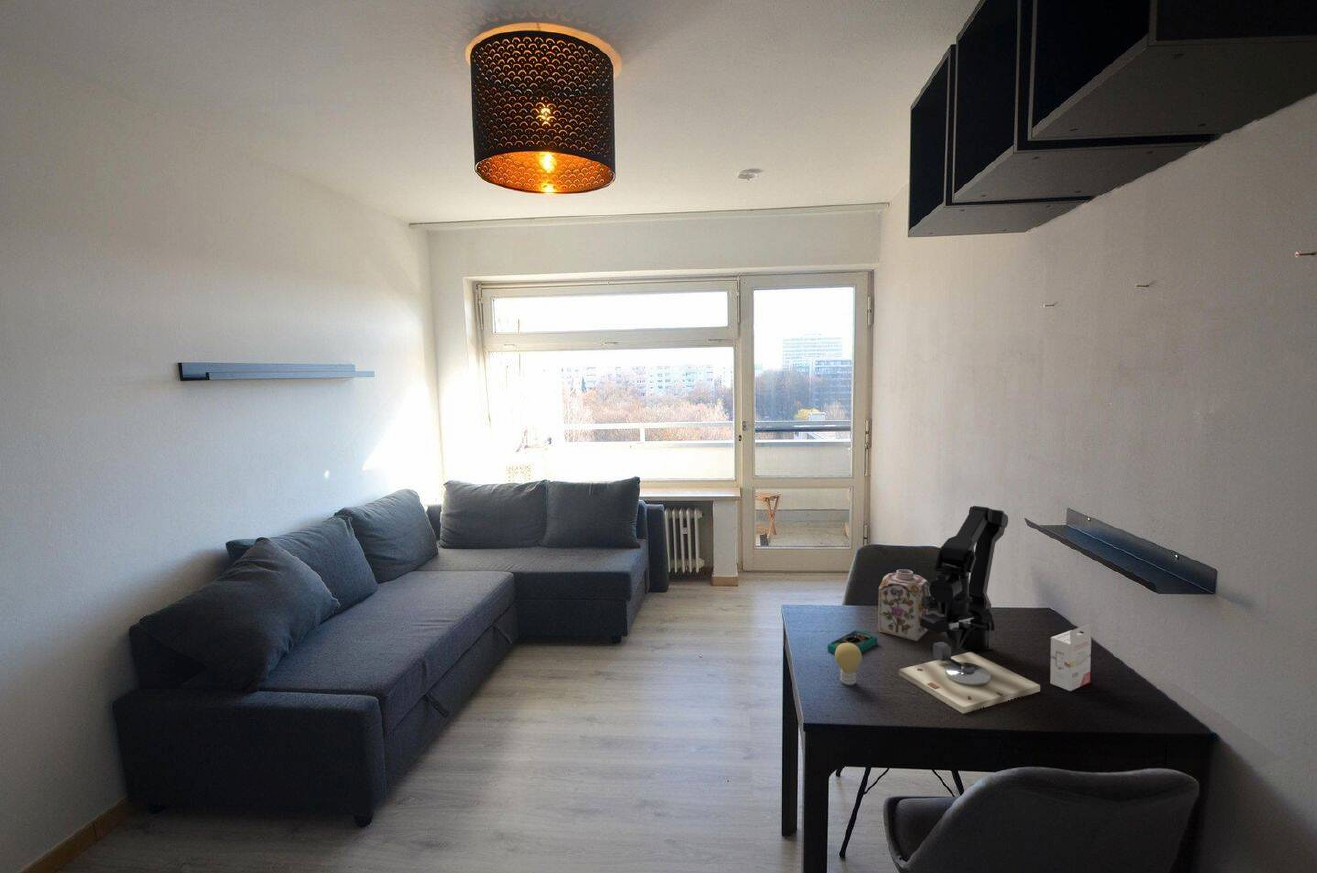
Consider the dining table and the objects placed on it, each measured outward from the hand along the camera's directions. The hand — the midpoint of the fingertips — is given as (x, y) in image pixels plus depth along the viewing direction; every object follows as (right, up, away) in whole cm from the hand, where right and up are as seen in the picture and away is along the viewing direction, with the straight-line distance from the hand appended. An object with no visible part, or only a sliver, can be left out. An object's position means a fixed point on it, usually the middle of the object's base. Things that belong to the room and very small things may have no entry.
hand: (955, 650), depth 163 cm
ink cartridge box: (+23, -5, -10) cm, 26 cm away
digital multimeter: (-22, -4, +13) cm, 26 cm away
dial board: (-1, -5, -8) cm, 10 cm away
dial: (-2, -3, -7) cm, 7 cm away
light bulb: (-30, -6, -7) cm, 31 cm away
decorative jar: (-4, -2, +24) cm, 24 cm away
